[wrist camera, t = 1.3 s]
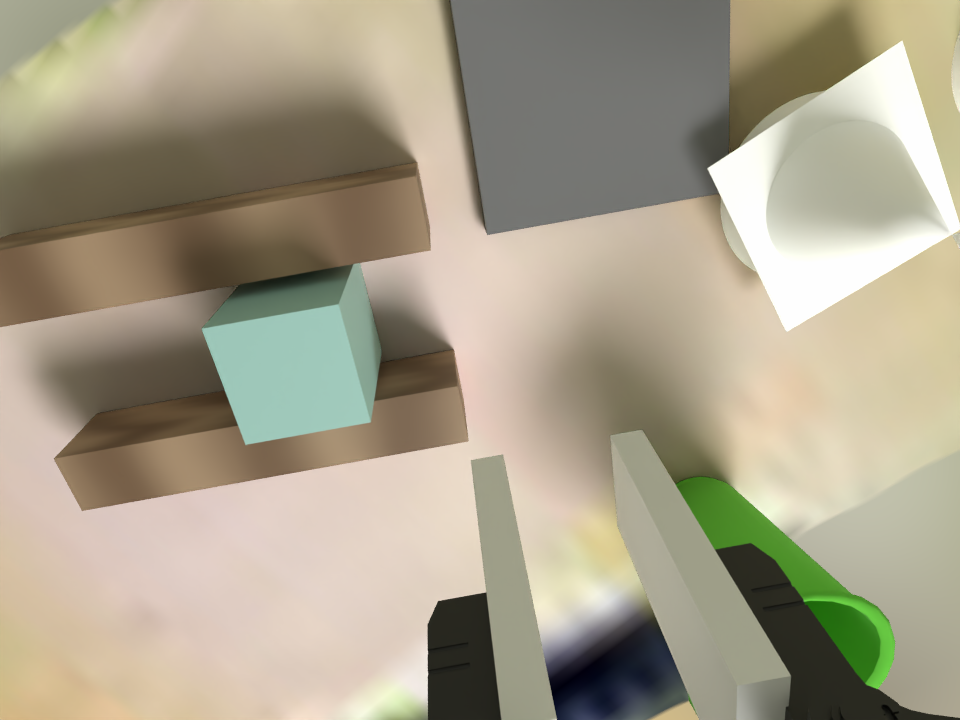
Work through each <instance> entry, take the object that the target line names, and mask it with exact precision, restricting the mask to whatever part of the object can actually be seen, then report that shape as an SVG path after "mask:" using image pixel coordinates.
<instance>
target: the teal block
mask: <svg viewBox="0 0 960 720" xmlns="http://www.w3.org/2000/svg"><path fill="white" fill-rule="evenodd" d="M202 331H203V334H204V337H205V339H206V342H207V345H208V347H209V350H210V352H211V355H212V358H213V360H214V363H215V366H216V368H217V371H218V374H219V376H220V379H221V381H222V384H223V387H224V389H225V392H226V395H227V397H228V400H229V403H230V405H231V408H232V410H233V413H234V416H235V418H236V421H237V424H238V426H239V429H240V432H241V434H242V437H243V440H244V442H245V445H247V444H253V443H258V442H264V441H270V440H275V439H281V438H286V437H292V436H297V435H303V434H309V433H314V432H320V431H325V430H331V429H337V428H342V427H348V426H353V425H359V424H364V423H370V422H371V417H372V411H373V405H374V398H375V392H376V386H377V379H378V373H379V366H380V360H381V354H382V349H381V345H380V341H379V337H378V333H377V329H376V325H375V321H374V317H373V313H372V309H371V305H370V301H369V297H368V293H367V289H366V285H365V281H364V277H363V273H362V269H361V265H360V263H356V264H351V265H345V266H340V267H334V268H328V269H323V270H317V271H312V272H306V273H300V274H295V275H289V276H284V277H278V278H272V279H267V280H261V281H256V282H250V283H244V284H240V285H239V286H238V287H237V289H236V290H235V291H234V292H233V293H232V294H231V295H230V297H229V298H228V299H227V300H226V301H225V302H224V304H223V305H222V306H221V307H220V308H219V309H218V310H217V312H216V313H215V314H214V315H213V316H212V317H211V318H210V320H209V321H208V322H207V323H206V324H205V325H204V326H203V328H202Z"/></svg>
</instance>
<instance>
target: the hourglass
mask: <svg viewBox="0 0 960 720" xmlns="http://www.w3.org/2000/svg"><path fill="white" fill-rule="evenodd" d="M952 89H953V95H954V99H955V102H956V105H957V108H958V110H959V112H960V32H959V35H958V38H957V41H956V45H955V49H954V55H953V61H952ZM707 169H708V171H709V173H710V175H711V177H712V179H713V181H714V183H715V185H716V187H717V189H718V192H719V194H720V196H721V206H720V208H721V221H722V226H723V230H724V234H725V237H726V239H727V241H728V243H729V245H730V247H731V249H732V250H733V252H734V253H735V255H736V256H737V257H738V258H739V259H740V260H741V261H742V262H743V263H744V264H745V265H746V266H748V267H749V268H750V269H752V270H754V271H755V272H757V273H758V274H759V276H760V279H761V281H762V283H763V285H764V287H765V289H766V291H767V293H768V295H769V297H770V299H771V301H772V303H773V305H774V307H775V310H776V312H777V314H778V316H779V318H780V320H781V322H782V324H783V326H784V328H785V330H786V332H787V331H789V330H790V329H792V328H794V327H796V326H797V325H799V324H801V323H802V322H804V321H806V320H807V319H809V318H811V317H812V316H814V315H816V314H817V313H819V312H821V311H823V310H824V309H826V308H828V307H829V306H831V305H833V304H834V303H836V302H838V301H839V300H841V299H843V298H845V297H846V296H848V295H850V294H851V293H853V292H855V291H856V290H858V289H860V288H861V287H863V286H865V285H867V284H868V283H870V282H872V281H873V280H875V279H877V278H878V277H880V276H882V275H883V274H885V273H887V272H889V271H890V270H892V269H894V268H895V267H897V266H899V265H900V264H902V263H904V262H905V261H907V260H909V259H911V258H912V257H914V256H916V255H917V254H919V253H921V252H922V251H924V250H926V249H927V248H929V247H931V246H933V245H934V244H936V243H938V242H939V241H941V240H943V239H944V238H946V237H948V236H950V235H952V234H953V233H954V232H956V231H958V230H960V224H959V220H958V217H957V214H956V211H955V208H954V204H953V201H952V198H951V195H950V192H949V188H948V185H947V182H946V179H945V176H944V172H943V169H942V166H941V163H940V160H939V156H938V153H937V150H936V147H935V144H934V140H933V137H932V134H931V131H930V128H929V124H928V121H927V118H926V115H925V112H924V108H923V105H922V102H921V99H920V96H919V92H918V89H917V86H916V83H915V80H914V76H913V73H912V70H911V67H910V64H909V61H908V57H907V54H906V51H905V48H904V45H903V41H901V42H899V43H898V44H896V45H895V46H893V47H891V48H890V49H888V50H887V51H885V52H884V53H882V54H881V55H879V56H878V57H876V58H875V59H873V60H872V61H870V62H869V63H867V64H866V65H864V66H863V67H861V68H859V69H858V70H856V71H855V72H853V73H852V74H850V75H849V76H847V77H846V78H844V79H843V80H841V81H840V82H838V83H837V84H835V85H834V86H832V87H831V88H829V89H827V90H826V91H820V92H814V93H810V94H807V95H804V96H801V97H798V98H796V99H793V100H791V101H789V102H787V103H785V104H784V105H782V106H780V107H779V108H777V109H776V110H774V111H773V112H771V113H770V114H769V115H768V116H766V117H765V118H764V119H763V120H762V121H761V122H760V123H759V124H758V125H757V126H756V127H755V128H754V129H753V130H752V131H751V132H750V133H749V134H748V136H747V137H746V138H745V140H744V141H743V142H742V144H741V145H740V147H739V148H738V149H736V150H735V151H733V152H731V153H730V154H728V155H727V156H725V157H724V158H722V159H721V160H719V161H718V162H716V163H715V164H713V165H712V166H710V167H709V168H707ZM952 236H953V238H954V239H955V241H956V243H957V245H958V247H959V249H960V233H957V234H953V235H952Z"/></svg>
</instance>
